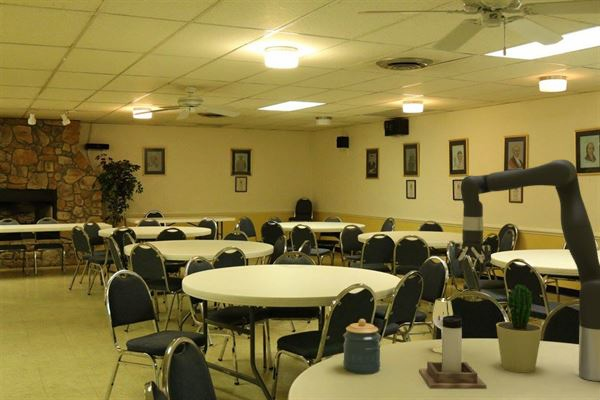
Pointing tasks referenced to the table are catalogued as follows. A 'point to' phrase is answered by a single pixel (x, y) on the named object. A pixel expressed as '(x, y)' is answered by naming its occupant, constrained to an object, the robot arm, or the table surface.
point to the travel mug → (451, 344)
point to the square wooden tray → (451, 377)
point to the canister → (361, 348)
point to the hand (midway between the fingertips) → (472, 271)
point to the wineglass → (441, 315)
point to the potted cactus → (519, 334)
